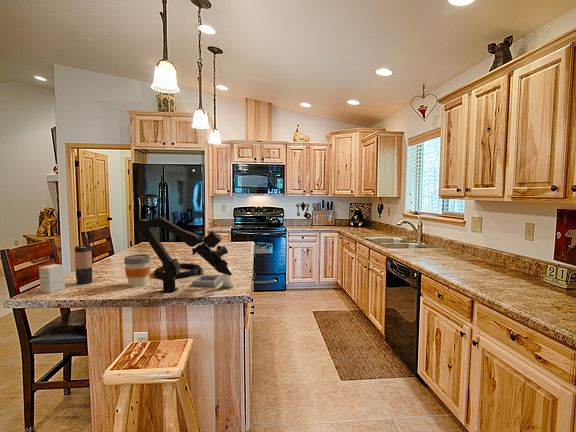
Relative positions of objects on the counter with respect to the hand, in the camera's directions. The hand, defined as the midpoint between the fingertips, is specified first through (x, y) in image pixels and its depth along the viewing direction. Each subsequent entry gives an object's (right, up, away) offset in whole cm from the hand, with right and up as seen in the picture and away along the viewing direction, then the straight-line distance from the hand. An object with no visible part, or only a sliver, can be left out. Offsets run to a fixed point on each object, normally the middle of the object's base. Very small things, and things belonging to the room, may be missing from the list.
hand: (228, 272), depth 163 cm
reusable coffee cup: (-50, -7, +5) cm, 50 cm away
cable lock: (-35, -6, +29) cm, 46 cm away
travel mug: (-80, -7, +7) cm, 80 cm away
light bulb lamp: (-1, -8, 0) cm, 8 cm away
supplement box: (-87, -8, -6) cm, 88 cm away
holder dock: (-13, -7, +11) cm, 18 cm away
